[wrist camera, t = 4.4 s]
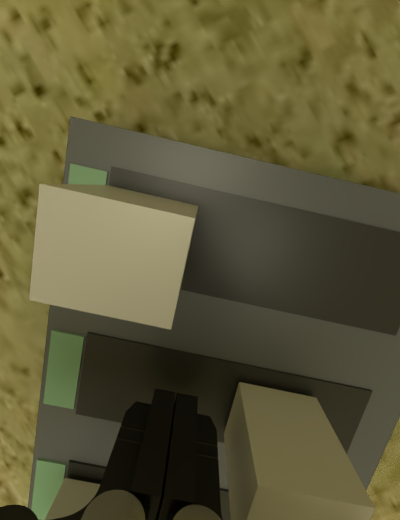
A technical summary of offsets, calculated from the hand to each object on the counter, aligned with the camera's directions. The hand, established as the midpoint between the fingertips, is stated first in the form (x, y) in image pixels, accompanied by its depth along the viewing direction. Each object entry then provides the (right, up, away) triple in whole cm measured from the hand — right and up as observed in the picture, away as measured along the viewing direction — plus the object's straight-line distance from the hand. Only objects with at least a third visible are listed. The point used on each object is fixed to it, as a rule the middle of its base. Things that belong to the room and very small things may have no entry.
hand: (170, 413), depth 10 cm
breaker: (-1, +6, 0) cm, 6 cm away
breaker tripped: (+4, -1, +1) cm, 4 cm away
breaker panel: (+2, 0, +4) cm, 5 cm away
